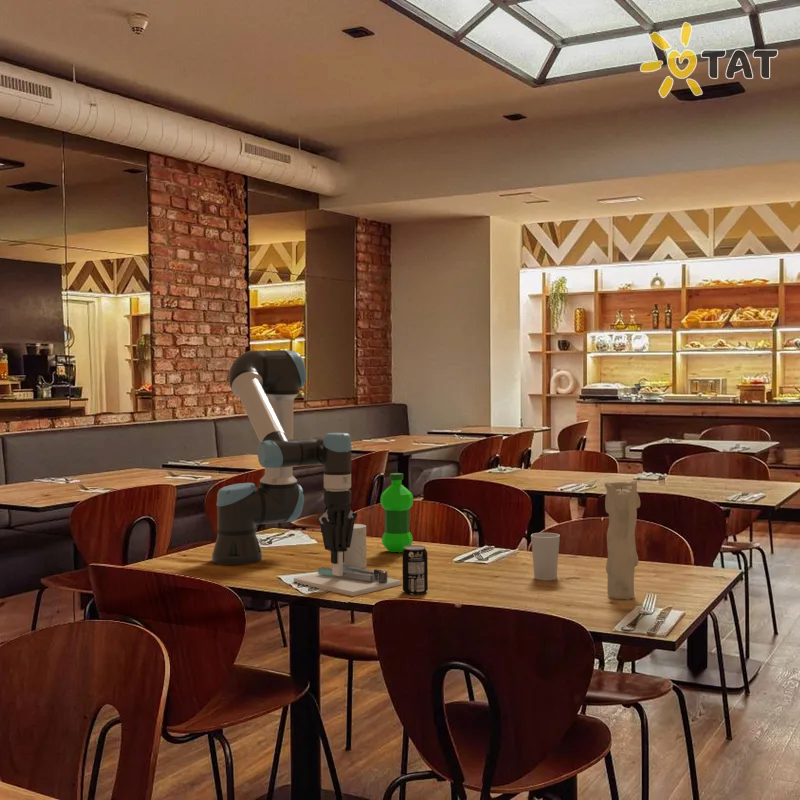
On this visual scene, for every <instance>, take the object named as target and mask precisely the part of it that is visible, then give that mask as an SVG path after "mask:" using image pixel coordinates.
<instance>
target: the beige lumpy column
mask: <svg viewBox="0 0 800 800" xmlns="http://www.w3.org/2000/svg"><path fill="white" fill-rule="evenodd" d="M637 484H638V481H637V480H635V479H634V480H632V481H631V482H625V481H624V482H623V481H622V482H621V481H620V482H618V481H617V482H615V481H614V482H605V483H604V487H605V490H606V493H605V499H604V500H605V501H604V502H605V503H604V505H605V507H604V508H605V509H604V510H605V513H606V514H608V519H609V520H608V528H607V532H606V544H607V546H606V547H607V560H606V565H605V571H606V574H607V589H606V590H607V596H608V597H609V598H610V597H611V599H614V598H615V599H614V600H620V599H626V600H631V598H632V599H634V598H635V586H634V585H635V573H636V572H635V571H636V570H635V569H636V567H637V566H639V556H638V553H637V544H636V537H635V534H636V532H635V531H636V526H637V516H638V513H637V511H638V509H639V508H640V507H641V499H640V494H639V493H638V485H637Z"/></svg>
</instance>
